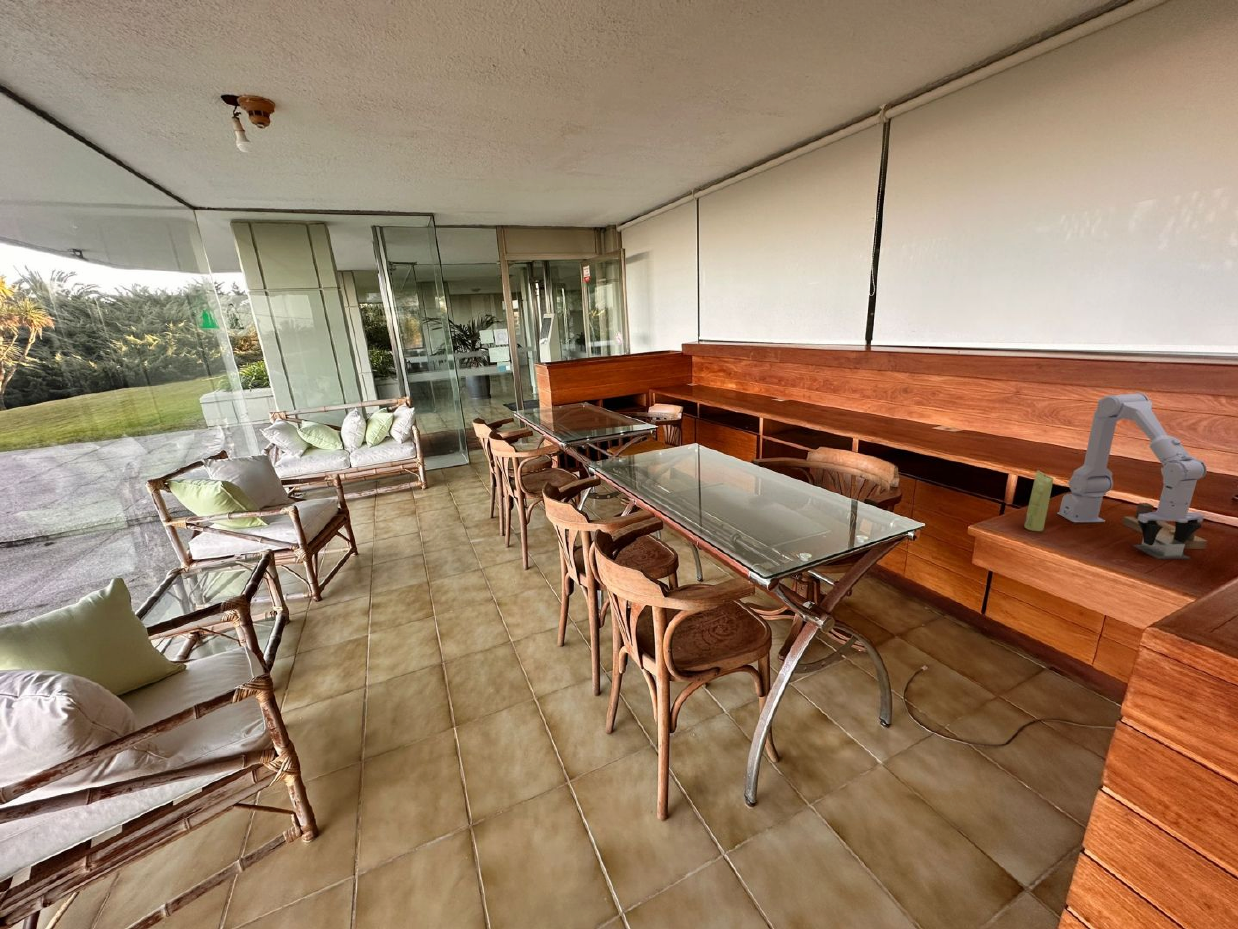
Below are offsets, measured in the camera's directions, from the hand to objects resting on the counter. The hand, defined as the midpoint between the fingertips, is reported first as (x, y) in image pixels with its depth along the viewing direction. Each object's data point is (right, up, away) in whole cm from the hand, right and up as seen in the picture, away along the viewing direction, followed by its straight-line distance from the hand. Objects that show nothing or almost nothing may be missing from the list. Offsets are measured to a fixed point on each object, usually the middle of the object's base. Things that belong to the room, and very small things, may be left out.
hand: (1162, 543), depth 141 cm
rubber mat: (0, -3, +1) cm, 3 cm away
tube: (-20, +1, +20) cm, 29 cm away
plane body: (+11, +1, +10) cm, 14 cm away
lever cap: (0, -2, +1) cm, 2 cm away
